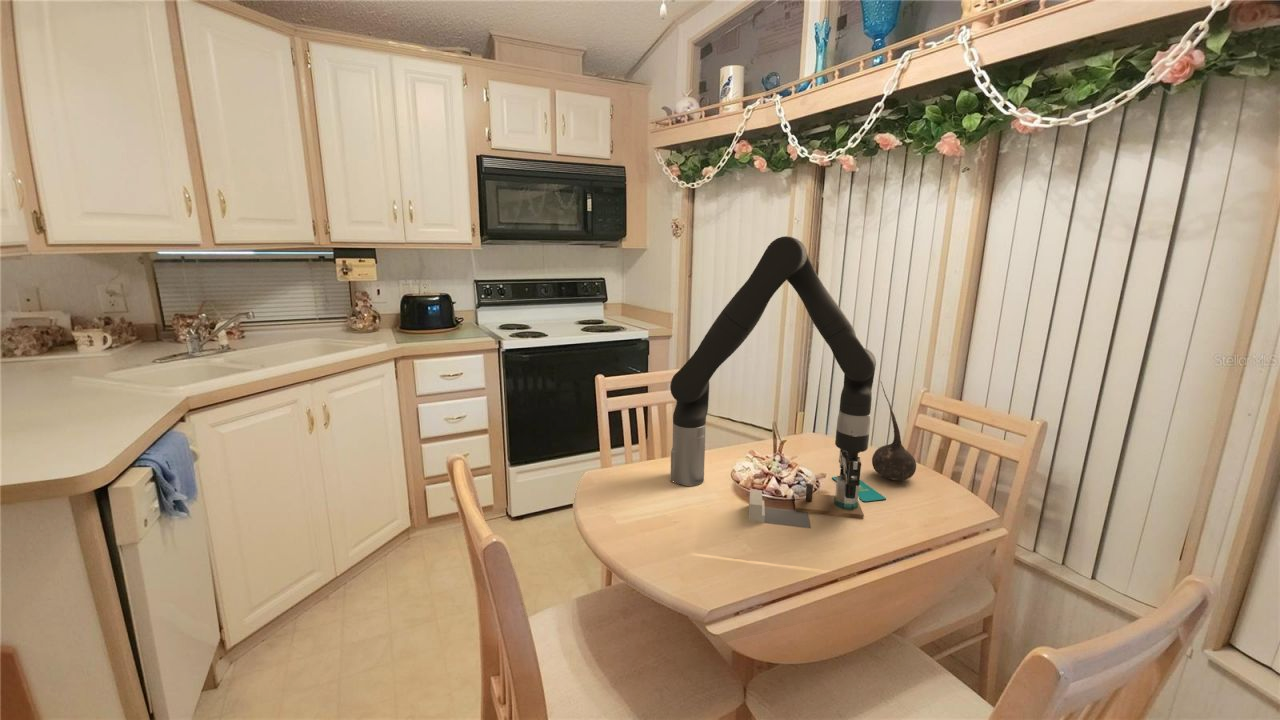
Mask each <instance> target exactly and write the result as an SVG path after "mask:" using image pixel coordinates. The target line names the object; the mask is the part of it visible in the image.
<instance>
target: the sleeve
mask: <svg viewBox="0 0 1280 720" xmlns="http://www.w3.org/2000/svg"><path fill="white" fill-rule="evenodd" d="M836 477H837V482H835V483H836V484H835V494H834V503H835V505H836V506H837V507H839V508H841V509H845V510H854V509H856V508H858V502H859V500H858V499H859V497H858V492H859V486H856V492H855V498H854V499H851V498H846V497H845V489H846V475H840V474H839V475H837V476H836ZM851 479H853V480H854V476H851Z"/></svg>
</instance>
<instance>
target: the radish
mask: <svg viewBox="0 0 1280 720" xmlns="http://www.w3.org/2000/svg"><path fill="white" fill-rule="evenodd" d="M879 382H880V384H881V388H882V391H883V394H884V397H885V399H886V401H887V403H888V406H889V407H888V408H889V411H890V416H891V422H892V427H893V428H892V429H893V431H892V432H893V440H892V443H889V444H885V445H882V446H880V447H878V448H877V449H876V450H875V451H874V453H873V455H872V457H871V463H872V468H873V469H874V471H875V472H876V473H877V474H878V475H879V476H881V477H883V478H885V479H889V480H890V481H891V480H893V481H898V482H900V481H907V480H908V479H911V478H912V477H913V476H914V475H915V473H916V470H917V461H916V459H915V457H914V456H913V455H912V454H911V452H909V451H908V450H906V449H905V447H904V446H903V444H902V439H901V433H900V428H899V425H898V422H897V419H896V416H895V413H894V411H893V409H892V405H891V403H890V401H889V399H888V396H887V395H886V391H885V388H884V385H883V382H882V381H881V380H880V381H879Z"/></svg>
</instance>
